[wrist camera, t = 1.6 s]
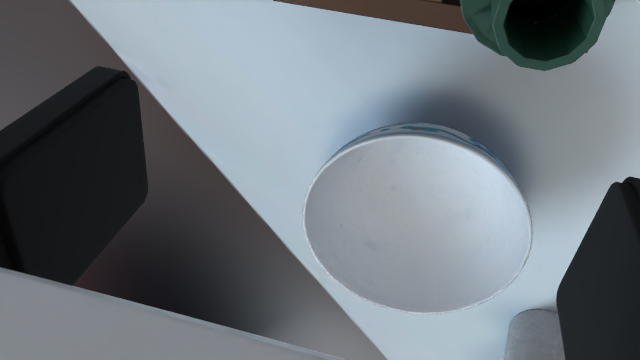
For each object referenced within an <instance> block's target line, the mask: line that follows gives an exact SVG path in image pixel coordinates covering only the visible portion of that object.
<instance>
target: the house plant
mask: <svg viewBox="0 0 640 360" xmlns="http://www.w3.org/2000/svg"><path fill="white" fill-rule="evenodd" d="M504 360H565V354H564V348H563V342H562V335H561V329H560V322H559V316H558V314H557V313H554V312H551V311H546V310H539V309H534V310H527V311H525V312H522V313H520V314H518V315H516V316H515V317H514V318H513V319H512V320H511V323H510V325H509V330H508V337H507V343H506V349H505V356H504Z"/></svg>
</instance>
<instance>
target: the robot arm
mask: <svg viewBox="0 0 640 360" xmlns="http://www.w3.org/2000/svg"><path fill="white" fill-rule="evenodd" d="M147 193H148V181H147V171H146V162H145V152H144V142H143V132H142V122H141V113H140V103H139V93H138V86H137V84H136V82H135V81H134V80H131V78H130V76H129V74H128V73H127V72H125V71H120V70H115V69H111V68H106V67H101V66H97V67H95V68H93V69H92V70H90V71H89V72H87V73H86V74H84V75H83V76H82V77H80V78H78V79H77V80H75V81H74V82H72V83H71V84H69V85H68V86H66V87H65V88H64V89H62V90H60V91H59V92H57V93H56V94H55V95H53V96H51V97H50V98H49V99H47V100H45V101H44V102H42V103H41V104H39V105H38V106H36V107H35V108H33V109H32V110H31V111H29V112H27V113H26V114H25V115H23V116H22V117H20V118H19V119H17V120H16V121H14V122H13V123H11V124H10V125H8V126H7V127H5V128H4V129H2V130H1V131H0V360H347V359H343V358H339V357H336V356H332V355H328V354H325V353H321V352H317V351H314V350H310V349H306V348H303V347H299V346H295V345H292V344H288V343H284V342H280V341H277V340H273V339H269V338H266V337H262V336H258V335H255V334H251V333H247V332H243V331H240V330H236V329H232V328H229V327H225V326H221V325H217V324H214V323H210V322H206V321H203V320H199V319H195V318H191V317H188V316H184V315H180V314H177V313H173V312H169V311H165V310H162V309H158V308H154V307H150V306H146V305H142V304H139V303H135V302H131V301H127V300H124V299H120V298H116V297H112V296H108V295H105V294H101V293H97V292H93V291H90V290H86V289H82V288H78V287H75V286H72V285H73V284H74V283H75V282H76V281H77V280H78V278H79V277H80V276H81V275H82V274H83V272H84V271H85V270H86V269H87V268H88V267H89V266H90V264H91V263H92V262H93V261H94V260H95V259H96V257H97V256H98V255H99V254H100V253H101V252H102V250H103V249H104V248H105V247H106V246H107V245H108V243H109V242H110V241H111V240H112V239H113V237H114V236H115V235H116V234H117V233H118V232H119V230H120V229H121V228H122V227H123V226H124V225H125V224H126V222H127V221H128V220H129V219H130V218H131V216H132V215H133V214H134V213H135V212H136V211H137V210H138V208H139V207H140V206H141V205H142V204H143V202H144V201H145V199H146V196H147ZM556 302H557V310H558V316H559V322H560V329H561V335H562V342H563V348H564V354H565V360H640V179H639V178H634V177H628V178H626V179H625V180H624V181H623V182H622V183H619V182H614V183H613V184H612V185H611V186H610V188H609V190H608V192H607V193H606V195H605V197H604V199H603V201H602V203H601V205H600V207H599V209H598V211H597V213H596V215H595V217H594V219H593V221H592V223H591V225H590V227H589V228H588V230H587V232H586V234H585V236H584V238H583V240H582V242H581V244H580V246H579V248H578V250H577V252H576V254H575V256H574V258H573V260H572V262H571V263H570V265H569V267H568V269H567V271H566V273H565V275H564V277H563V279H562V281H561V283H560V285H559V288H558V291H557V299H556Z"/></svg>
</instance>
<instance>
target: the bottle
mask: <svg viewBox="0 0 640 360" xmlns="http://www.w3.org/2000/svg"><path fill="white" fill-rule="evenodd" d="M614 2H615V0H460V4H461V10H462V16H463V19H464V21H465V22H466V24H467V25H468V27H469V28H470V30H471V31H472V33H473V34H474V36H475V37H476V39H477V40H478V41H479V42H480V43H482V44H483V45H485V46H487V47H488V48H490V49H491V50H493V51H495V52H496V53H498V54H499V55H502V56H507V57H508V58H509V59H510V60H512V61H513V62H514V63H515V64H516V65H518V66H520V67H526V68H531V69H537V70H543V71H545V70H546V71H547V70H550V69H554V68H557V67H560V66H564V65H567V64H571V63H573V62H575V61H576V60H577V59H578V58H579V57H581V56H582V55H583V54H584V53H585V52H586V51H587V50H589V49H590V48H591V47H592V46H593V45H594V44H595V43H596V42H597V40H598V37H599V35H600V32H601V30H602V27H603V25H604V22H605V20H606V18H607V17H608V15H609V14H610V12H611V9H612V7H613V4H614Z"/></svg>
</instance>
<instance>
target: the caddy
mask: <svg viewBox="0 0 640 360" xmlns="http://www.w3.org/2000/svg"><path fill="white" fill-rule="evenodd" d="M274 1H278V2H284V3H290V4H296V5H302V6H308V7H314V8H320V9H326V10H332V11H338V12H344V13H350V14H356V15H362V16H368V17H374V18H380V19H386V20H392V21H398V22H404V23H410V24H416V25H422V26H428V27H434V28H439V29H445V30H451V31H457V32H463V33H469V34H473V33H472V31H471V30H470V28H469V27H468V25H467V24H466V22H465V21H464V19H463V16H462V10H461V4H460V0H274ZM587 52H588V50H587V51H586V52H585V53H587Z"/></svg>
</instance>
